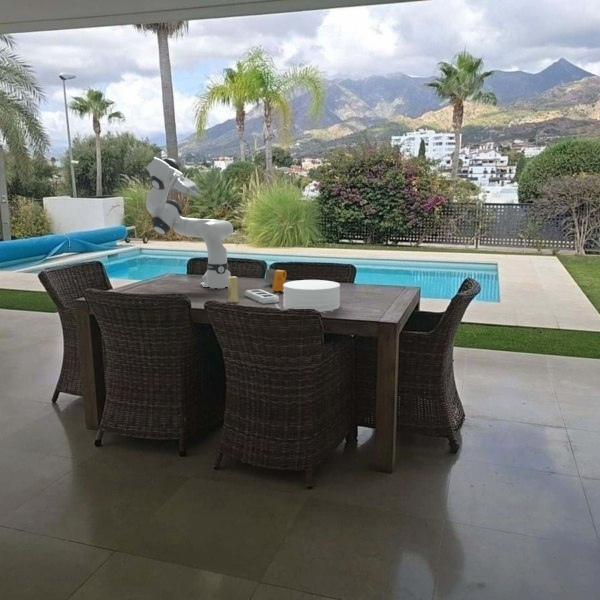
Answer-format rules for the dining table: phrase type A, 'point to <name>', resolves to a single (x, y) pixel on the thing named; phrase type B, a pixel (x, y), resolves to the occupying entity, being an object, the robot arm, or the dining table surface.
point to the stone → (270, 276)
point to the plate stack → (311, 295)
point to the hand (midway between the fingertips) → (198, 194)
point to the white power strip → (262, 296)
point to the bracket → (279, 280)
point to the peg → (233, 289)
